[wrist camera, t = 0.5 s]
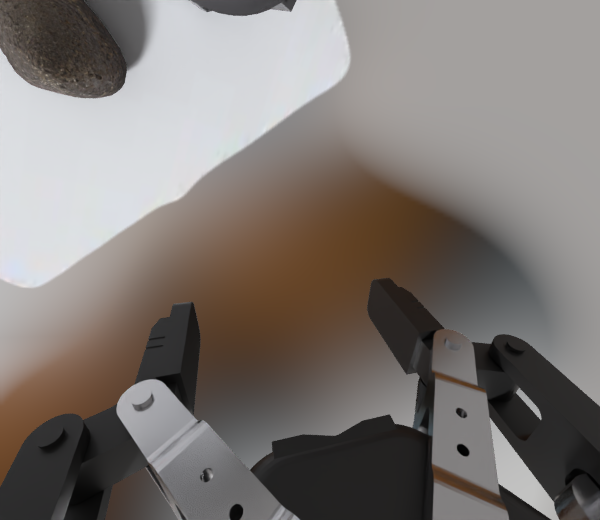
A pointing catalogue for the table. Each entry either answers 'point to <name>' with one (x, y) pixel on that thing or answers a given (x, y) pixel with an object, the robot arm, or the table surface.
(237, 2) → the plunger
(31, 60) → the stone
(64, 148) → the table surface
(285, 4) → the press carafe
